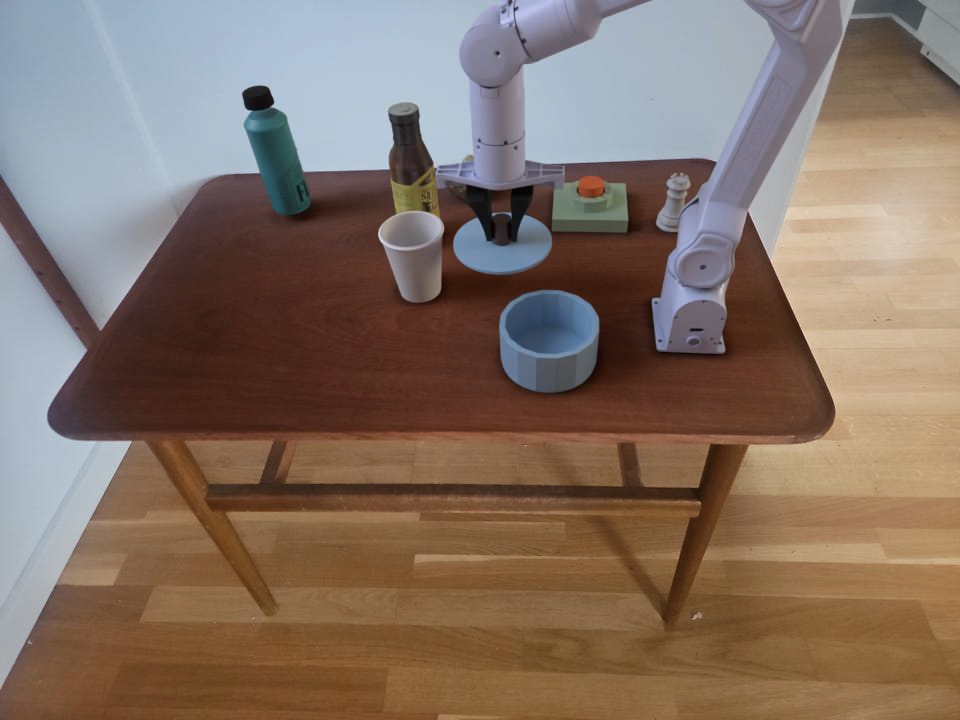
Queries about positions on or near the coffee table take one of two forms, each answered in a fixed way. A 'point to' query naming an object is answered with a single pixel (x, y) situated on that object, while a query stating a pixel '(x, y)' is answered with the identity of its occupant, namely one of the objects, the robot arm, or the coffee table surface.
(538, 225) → the tin lid
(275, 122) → the beverage bottle
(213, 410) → the coffee table surface
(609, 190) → the switch block
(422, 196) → the sauce bottle
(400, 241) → the dixie cup
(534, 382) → the tin
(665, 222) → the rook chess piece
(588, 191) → the button
